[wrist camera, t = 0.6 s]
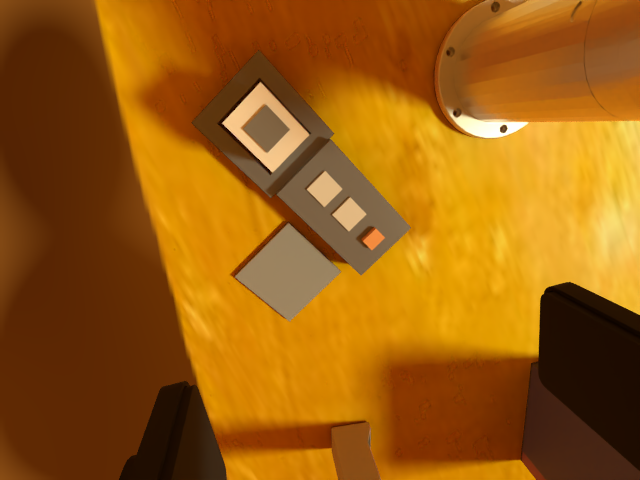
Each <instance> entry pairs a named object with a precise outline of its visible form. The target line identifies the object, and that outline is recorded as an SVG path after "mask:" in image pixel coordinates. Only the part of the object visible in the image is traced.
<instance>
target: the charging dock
mask: <svg viewBox="0 0 640 480" xmlns="http://www.w3.org/2000/svg"><path fill="white" fill-rule="evenodd" d="M259 80H260V81H261V82H262V83H263V84H264V85H265V87H266V88H267V89H268V90H269V91H270V92H271V93H272V94H273V95H274V96H275V97H276V98H277V99H278V101H279V102H280V103H281V104H282V105H283V106H284V107H285V108H286V109H287V110H288V111H289V112H290V113H291V115H292V116H293V117H294V118H295V119H296V120H297V121H298V122H299V123H300V124H301V125H302V126H303V127H304V129H305V130H306V131H307V132H308V134H309V136H308V137H307V138H306V139H305V140H304V141H303V142H302V143H301V144H300V145H299V146H298V147H297V148H296V149H295V150H294V151H293V152H292V153H291V154H290V155H289V156H288V157H287V158H286V160H285V161H284V162H283V163H282V164H281V165H280V166H279V167H278V168H277V169H276V170H275V171H274V172H273V173H272V172H270V173H269V172H268V171H267V170H266V169H265V168H264V167H263V166H262V165H261V164H260V163H259V162H258V161H257V160H256V159H255V158H254V157H253V156H252V155H251V154H250V153H249V152H248V151H247V150H246V149H245V148H244V147H243V146H242V145H241V144H240V143H239V142H238V141H236V140H235V139H234V138H233V137H232V136H231V135H230V134H229V133H228V132H227V131H226V130H225V129H224V128H223V127H222V126H221V125H220V124H219V123H220V122H221V121H222V120H223V119H224V118H225V117H226V116H227V115H228V113H229V112H230V111H231V110H232V109H233V108H234V107H235V106H236V105H237V104H238V103H239V102H240V101H241V100H242V98H243V97H244V96H245V95H246V94H247V93H248V92H249V91H250V90H251V89H252V88H253V87H254V86H255V85H256V84H257V82H258V81H259ZM192 124H193V125H194V126H195V127H196V128H197V129H198V130H199V131H200V132H201V133H203V134H204V135H205V136H206V137H207V138H208V139H209V140H210V141H211V142H212V143H213V144H214V145H215V146H216V147H217V148H218V149H219V150H221V151H222V152H223V153H224V154H225V155H226V156H227V157H228V158H229V159H230V160H231V161H232V162H233V163H234V164H235V165H236V166H237V167H239V168H240V169H241V170H242V171H243V172H244V173H245V174H246V175H247V176H248V177H249V178H250V179H251V180H252V181H253V182H254V183H255V184H257V185H258V186H259V187H260V188H261V189H262V190H263V191H264V192H265V193H266V194H267V195H268V196H269V197H270V198H272V197H273V196H274V194H275V193H276V194H277V196H278V197H279V198H281V199H282V200H283V201H284V202H285V203H286V204H287V205H288V206H289V207H290V208H291V209H292V210H293V211H294V212H295V213H296V214H297V215H298V216H299V217H300V218H301V219H303V220H304V221H305V222H306V223H307V224H308V225H309V226H310V227H311V228H312V229H313V230H314V231H315V232H316V233H317V234H318V235H319V236H320V237H321V238H322V239H323V240H325V241H326V242H327V243H328V244H329V245H330V246H331V247H332V248H333V249H334V250H335V251H336V252H337V253H338V254H339V255H340V256H341V257H342V258H343V259H344V260H345V261H346V262H348V263H349V264H350V265H351V266H352V267H353V268H354V269H355V270H356V271H357V272H358V273H359V274H360V275H362V274H363V273H364V272H365V271H366V270H367V269H369V268H370V267H371V266H372V265H373V264H374V263H375V262H376V261H377V260H378V259H379V258H380V257H381V256H382V255H383V254H384V253H385V252H386V251H387V250H388V249H389V248H391V247H392V246H393V245H394V244H395V243H396V242H397V241H398V240H399V239H400V238H401V237H402V236H403V235H404V234H405V233H406V232H407V231H408V230H409V229H410V228H411V227H410V226H409V225H408V224H407V223H406V222H405V220H404V219H403V218H402V217H401V216H400V215H399V214H398V213H397V212H396V211H395V209H394V208H393V207H392V206H391V205H390V204H389V203H388V202H387V201H386V200H385V198H384V197H383V196H382V195H381V194H380V193H379V192H378V191H377V190H376V189H375V187H374V186H373V185H372V184H371V183H370V182H369V181H368V180H367V179H366V178H365V177H364V175H363V174H362V173H361V172H360V171H359V170H358V169H357V168H356V167H355V166H354V164H353V163H352V162H351V161H350V160H349V159H348V158H347V157H346V156H345V155H344V153H343V152H342V151H341V150H340V149H339V148H338V147H337V146H336V145H335V144H334V142H333V141H332V140H331V139H329V138H330V137H331V136H332V135H333V134H334V133H333V132H332V131H331V130H330V128H329V127H328V126H327V125H326V124H325V123H324V122H323V121H322V120H321V118H320V117H319V116H318V115H317V114H316V113H315V112H314V111H313V110H312V108H311V107H310V106H309V105H308V104H307V103H306V102H305V101H304V100H303V98H302V97H301V96H300V95H299V94H298V93H297V92H296V91H295V89H294V88H293V87H292V86H291V85H290V84H289V83H288V82H287V81H286V79H285V78H284V77H283V76H282V75H281V74H280V73H279V72H278V71H277V69H276V68H275V67H274V66H273V65H272V64H271V63H270V62H269V61H268V59H267V58H266V57H265V56H264V55H263V54H262V53H261V52H260V51H259V50H258V51H257V52H256V53H255V55H254V56H253V57H252V58H251V59H250V60H249V61H248V62H247V63H246V64H245V65H244V66H243V68H242V69H241V70H240V71H239V72H238V73H237V74H236V75H235V76H234V77H233V78H232V79H231V81H230V82H229V83H228V84H227V85H226V86H225V87H224V88H223V89H222V90H221V91H220V92H219V94H218V95H217V96H216V97H215V98H214V99H213V100H212V101H211V102H210V103H209V104H208V105H207V107H206V108H205V109H204V110H203V111H202V112H201V113H200V114H199V115H198V116H197V117H196V118H195V120H194V121H193V122H192Z"/></svg>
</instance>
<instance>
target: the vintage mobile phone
mask: <svg viewBox="0 0 640 480" xmlns="http://www.w3.org/2000/svg"><path fill="white" fill-rule="evenodd" d="M331 438H332V454H333V458H334V463H335V467H336V472H337V476H338V480H381V478H380V475H379V472H378V469H377V466H376V464H375V461H374V458H373V455H372V452H371V449H370V443H371V428H370V425H369V423H368V422H364V423H357V424H351V425H344V426H338V427H332V428H331Z"/></svg>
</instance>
